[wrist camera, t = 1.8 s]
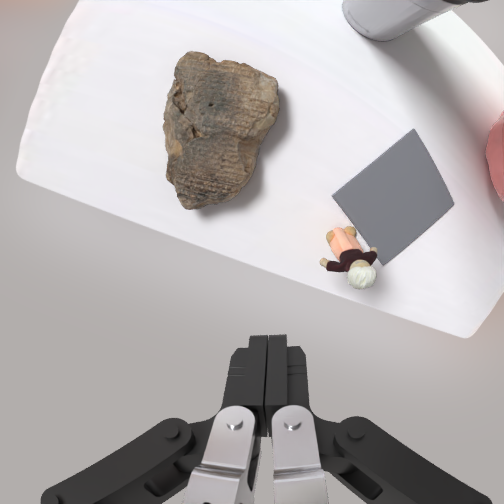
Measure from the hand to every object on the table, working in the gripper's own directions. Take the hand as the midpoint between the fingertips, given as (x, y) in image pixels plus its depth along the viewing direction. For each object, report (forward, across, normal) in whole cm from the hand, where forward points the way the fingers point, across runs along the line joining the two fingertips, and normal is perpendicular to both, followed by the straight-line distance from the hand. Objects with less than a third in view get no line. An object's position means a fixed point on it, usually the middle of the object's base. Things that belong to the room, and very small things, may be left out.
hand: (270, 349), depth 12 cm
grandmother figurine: (+29, +8, -7) cm, 31 cm away
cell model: (+32, +41, +6) cm, 52 cm away
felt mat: (+30, +18, -2) cm, 35 cm away
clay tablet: (+29, -7, +8) cm, 31 cm away
